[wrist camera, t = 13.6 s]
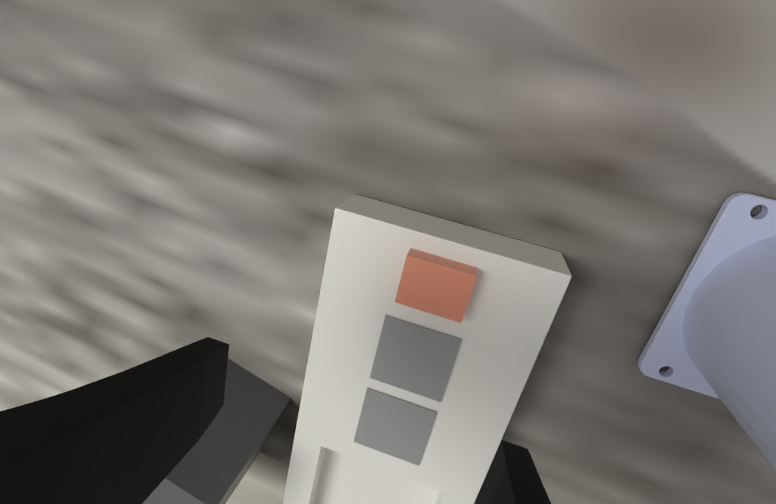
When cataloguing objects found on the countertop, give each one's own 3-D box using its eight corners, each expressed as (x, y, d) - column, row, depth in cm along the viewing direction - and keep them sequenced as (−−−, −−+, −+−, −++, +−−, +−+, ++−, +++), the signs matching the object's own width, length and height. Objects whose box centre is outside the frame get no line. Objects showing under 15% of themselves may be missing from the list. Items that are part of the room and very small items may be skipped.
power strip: (561, 252, 17) (576, 285, 14) (427, 578, 26) (417, 644, 22) (355, 194, 19) (328, 213, 15) (291, 523, 27) (264, 578, 24)
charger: (291, 398, 23) (214, 509, 17) (260, 451, 25) (180, 569, 19) (215, 350, 24) (111, 443, 17) (190, 407, 26) (89, 510, 19)
